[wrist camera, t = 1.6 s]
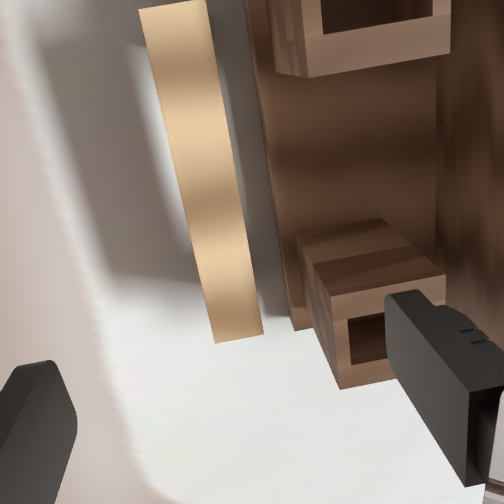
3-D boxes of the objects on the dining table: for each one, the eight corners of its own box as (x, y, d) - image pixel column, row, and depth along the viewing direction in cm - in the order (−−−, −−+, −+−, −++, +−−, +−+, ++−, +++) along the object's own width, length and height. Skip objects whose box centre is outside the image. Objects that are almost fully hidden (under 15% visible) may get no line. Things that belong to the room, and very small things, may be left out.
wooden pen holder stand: (233, -74, 25) (268, -207, 13) (441, -108, 26) (678, -269, 13) (289, 317, 36) (340, 460, 23) (437, 288, 36) (567, 413, 24)
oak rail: (153, 22, 27) (138, 9, 20) (203, 13, 27) (205, -2, 20) (211, 286, 34) (215, 343, 27) (250, 279, 34) (263, 334, 27)
